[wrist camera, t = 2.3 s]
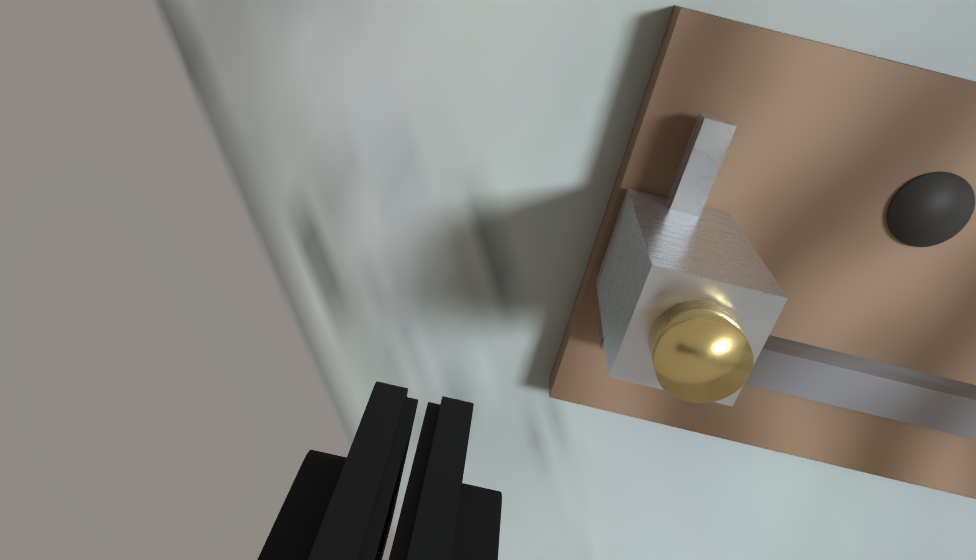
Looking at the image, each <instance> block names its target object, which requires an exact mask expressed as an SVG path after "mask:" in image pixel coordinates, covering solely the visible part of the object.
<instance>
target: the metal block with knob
mask: <svg viewBox="0 0 976 560" xmlns="http://www.w3.org/2000/svg"><path fill="white" fill-rule="evenodd" d="M736 127H737V126H736V125H735V124H734V123H733V122H732V121H731V120H728V119H724V118H720V117H716V116H712V115H708V114H704V113H700V112H699V115H698V118H697V120H696V123H695V126H694V128H693V131H692V133H691V136H690V139H689V141H688V144H687V147H686V149H685V152H684V155H683V157H682V160H681V162H680V165H679V168H678V170H677V173H676V176H675V178H674V181H673V184H672V186H671V189H670V192H669V194H668V197H667V198H665V197H661V196H656V195H652V194H648V193H644V192H640V191H636V190H632V189H628V188H627V191H626V194H625V197H624V200H623V203H622V206H621V209H620V212H619V215H618V217H617V220H616V223H615V226H614V229H613V232H612V235H611V238H610V241H609V243H608V246H607V249H606V252H605V255H604V258H603V261H602V264H601V267H600V270H599V272H598V275H597V278H596V285H597V292H598V300H599V307H600V315H601V322H602V330H603V337H604V345H605V352H606V360H607V368H608V375H609V377H612V378H616V379H620V380H624V381H628V382H632V383H637V384H641V385H645V386H649V387H653V388H657V389H661V390H665V391H666V392H667V393H669V394H670V395H672V396H673V397H675V398H677V399H679V400H682V401H685V402H690V403H710V402H716V403H720V404H724V405H728V406H732V407H733V405H734V403H735V401H736V399H737V397H738V395H739V393H740V391H741V389H742V387H743V385H744V384H745V382H746V381H747V380H748V378H749V376H750V374H751V372H752V369H753V366H754V364H755V362H756V360H757V358H758V356H759V354H760V352H761V350H762V348H763V346H764V344H765V342H766V340H767V338H768V336H769V335H770V333H771V331H772V329H773V327H774V325H775V323H776V321H777V319H778V317H779V315H780V313H781V311H782V309H783V307H784V305H785V303H786V301H787V300H788V297H787V296H786V294H785V293H784V291H783V290H782V288H781V287H780V286H779V284H778V283H777V281H776V280H775V278H774V277H773V275H772V274H771V272H770V271H769V270H768V268H767V267H766V265H765V264H764V262H763V261H762V259H761V258H760V256H759V255H758V253H757V252H756V251H755V249H754V248H753V246H752V245H751V243H750V242H749V240H748V239H747V237H746V236H745V235H744V233H743V232H742V230H741V229H740V227H739V226H738V224H737V223H736V221H735V220H734V219H733V217H732V216H731V214H729V213H725V212H721V211H717V210H713V209H709V208H705V207H704V205H705V203H706V200H707V198H708V195H709V193H710V190H711V188H712V186H713V183H714V181H715V178H716V176H717V173H718V171H719V169H720V166H721V164H722V161H723V159H724V156H725V154H726V151H727V149H728V147H729V144H730V142H731V139H732V137H733V134H734V132H735V130H736Z"/></svg>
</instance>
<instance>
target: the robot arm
mask: <svg viewBox="0 0 976 560" xmlns="http://www.w3.org/2000/svg"><path fill="white" fill-rule="evenodd" d="M407 392H408V388H404V387H399V386H395V385H390V384H386V383H382V382H376V383H375V386H374V388H373V391H372V393H371V396H370V398H369V401H368V404H367V406H366V409H365V412H364V414H363V417H362V419H361V422H360V425H359V427H358V430H357V432H356V435H355V438H354V440H353V443H352V446H351V448H350V451H349V453H348V456H347V458H346V457H341V456H337V455H332V454H328V453H324V452H319V451H314V450H310V451H309V452H308V453H307V455H306V457H305V459H304V461H303V463H302V465H301V467H300V470H299V471H298V474H297V476H296V478H295V480H294V482H293V484H292V487H291V489H290V491H289V493H288V495H287V497H286V499H285V502H284V504H283V506H282V508H281V510H280V512H279V514H278V517H277V519H276V521H275V523H274V525H273V527H272V530H271V532H270V534H269V536H268V538H267V540H266V542H265V545H264V547H263V549H262V551H261V553H260V555H259V558H258V560H382V557H383V553H384V549H385V546H386V542H387V538H388V534H389V530H390V526H391V522H392V518H393V514H394V510H395V505H396V500H397V496H398V491H399V487H400V482H401V477H402V473H403V468H404V464H405V459H406V454H407V450H408V445H409V441H410V436H411V431H412V427H413V422H414V418H415V413H416V408H417V404H418V400H417V399H413V398H408V397H407ZM472 412H473V403H470V402H465V401H461V400H457V399H452V398H448V397H442V401H441V405H439V404H435V403H430V402H428V405H427V409H426V413H425V417H424V421H423V425H422V429H421V433H420V437H419V441H418V445H417V449H416V453H415V457H414V461H413V465H412V469H411V473H410V477H409V481H408V485H407V489H406V493H405V497H404V501H403V505H402V509H401V513H400V517H399V521H398V525H397V529H396V533H395V537H394V541H393V545H392V549H391V553H390V557H389V560H498V547H499V533H500V519H501V505H502V494H501V492H499V491H495V490H490V489H486V488H481V487H477V486H472V485H468V484H463V483H462V479H463V473H464V466H465V459H466V453H467V446H468V439H469V432H470V426H471V419H472Z"/></svg>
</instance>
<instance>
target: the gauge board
mask: <svg viewBox="0 0 976 560" xmlns="http://www.w3.org/2000/svg"><path fill="white" fill-rule="evenodd" d="M699 112H700V113H704V114H708V115H712V116H716V117H720V118H724V119H728V120H731V121H732V122H733V123H734V124H735V125H736V126H737V127H736V130H735V132H734V134H733V137H732V139H731V142H730V144H729V147H728V149H727V151H726V154H725V156H724V159H723V161H722V164H721V166H720V169H719V171H718V173H717V176H716V178H715V181H714V183H713V186H712V188H711V190H710V193H709V195H708V198H707V200H706V203H705V205H704V207H705V208H709V209H713V210H717V211H721V212H725V213H729V214H731V216H732V217H733V219H734V220H735V221H736V223H737V224H738V226H739V227H740V229H741V230H742V232H743V233H744V235H745V236H746V237H747V239H748V240H749V242H750V243H751V245H752V246H753V248H754V249H755V251H756V252H757V253H758V255H759V256H760V258H761V259H762V261H763V262H764V264H765V265H766V267H767V268H768V270H769V271H770V272H771V274H772V275H773V277H774V278H775V280H776V281H777V283H778V284H779V286H780V287H781V288H782V290H783V291H784V293H785V294H786V296H787V297H788V300H787V301H786V303H785V305H784V307H783V309H782V311H781V313H780V315H779V317H778V319H777V321H776V323H775V325H774V327H773V329H772V331H771V333H770V335H769V336H768V338H767V340H766V342H765V344H764V346H763V348H762V350H761V352H760V354H759V356H758V358H757V360H756V362H755V364H754V366H753V369H752V372H751V374H750V376H749V378H748V380H747V381H746V382H745V384H744V385H743V387H742V389H741V391H740V393H739V395H738V397H737V399H736V401H735V403H734V405H733V407H732V406H728V405H724V404H720V403H716V402H710V403H690V402H685V401H682V400H679V399H677V398H675V397H673V396H672V395H670V394H669V393H667V392H666V391H665V390H661V389H657V388H653V387H649V386H645V385H641V384H637V383H632V382H628V381H624V380H620V379H616V378H612V377H609V375H608V368H607V360H606V352H605V345H604V337H603V330H602V322H601V315H600V307H599V300H598V292H597V285H596V278H597V275H598V272H599V270H600V267H601V264H602V261H603V258H604V255H605V252H606V249H607V246H608V243H609V241H610V238H611V235H612V232H613V229H614V226H615V223H616V220H617V217H618V215H619V212H620V209H621V206H622V203H623V200H624V197H625V194H626V191H627V188H628V189H632V190H636V191H640V192H644V193H648V194H652V195H656V196H661V197H665V198H667V197H668V194H669V192H670V189H671V186H672V184H673V181H674V178H675V176H676V173H677V170H678V168H679V165H680V162H681V160H682V157H683V155H684V152H685V149H686V147H687V144H688V141H689V139H690V136H691V133H692V131H693V128H694V126H695V123H696V120H697V118H698V115H699ZM549 397H552V398H556V399H560V400H564V401H568V402H573V403H577V404H581V405H585V406H589V407H593V408H598V409H602V410H606V411H610V412H614V413H619V414H623V415H627V416H631V417H635V418H640V419H644V420H648V421H652V422H656V423H660V424H665V425H669V426H673V427H677V428H681V429H686V430H690V431H694V432H698V433H702V434H706V435H711V436H715V437H719V438H723V439H727V440H732V441H736V442H740V443H744V444H748V445H752V446H757V447H761V448H765V449H769V450H773V451H778V452H782V453H786V454H790V455H794V456H798V457H803V458H807V459H811V460H815V461H819V462H824V463H828V464H832V465H836V466H840V467H844V468H849V469H853V470H857V471H861V472H865V473H870V474H874V475H878V476H882V477H886V478H890V479H895V480H899V481H903V482H907V483H911V484H916V485H920V486H924V487H928V488H932V489H936V490H941V491H945V492H949V493H953V494H957V495H962V496H966V497H970V498H974V499H976V82H975V81H971V80H967V79H963V78H959V77H955V76H951V75H947V74H943V73H939V72H935V71H931V70H927V69H923V68H919V67H915V66H911V65H908V64H904V63H900V62H896V61H892V60H888V59H884V58H880V57H876V56H872V55H868V54H864V53H860V52H856V51H852V50H848V49H844V48H841V47H837V46H833V45H829V44H825V43H821V42H817V41H813V40H809V39H805V38H801V37H797V36H793V35H789V34H785V33H781V32H777V31H773V30H770V29H766V28H762V27H758V26H754V25H750V24H746V23H742V22H738V21H734V20H730V19H726V18H722V17H718V16H714V15H710V14H706V13H703V12H699V11H695V10H691V9H687V8H683V7H679V6H675V5H674V8H673V11H672V14H671V17H670V20H669V23H668V26H667V29H666V32H665V35H664V38H663V41H662V44H661V47H660V50H659V53H658V56H657V59H656V62H655V65H654V68H653V71H652V74H651V77H650V80H649V83H648V86H647V89H646V92H645V95H644V98H643V101H642V104H641V107H640V110H639V113H638V116H637V119H636V122H635V125H634V128H633V131H632V134H631V137H630V140H629V143H628V146H627V149H626V152H625V155H624V158H623V161H622V164H621V167H620V170H619V173H618V176H617V179H616V182H615V185H614V188H613V191H612V194H611V197H610V200H609V203H608V206H607V209H606V212H605V215H604V218H603V221H602V224H601V227H600V230H599V233H598V236H597V239H596V242H595V245H594V248H593V251H592V254H591V257H590V260H589V263H588V266H587V269H586V272H585V275H584V278H583V281H582V284H581V287H580V290H579V293H578V296H577V299H576V302H575V305H574V308H573V311H572V314H571V317H570V320H569V323H568V326H567V329H566V332H565V335H564V338H563V341H562V344H561V347H560V350H559V353H558V356H557V359H556V362H555V365H554V368H553V371H552V374H551V377H550V380H549Z"/></svg>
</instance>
